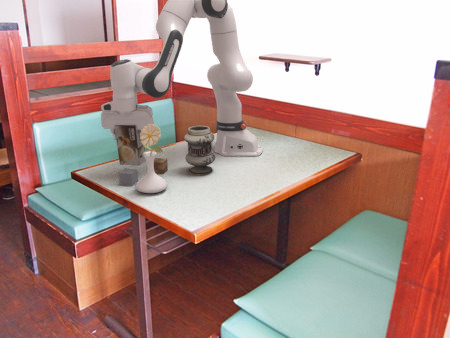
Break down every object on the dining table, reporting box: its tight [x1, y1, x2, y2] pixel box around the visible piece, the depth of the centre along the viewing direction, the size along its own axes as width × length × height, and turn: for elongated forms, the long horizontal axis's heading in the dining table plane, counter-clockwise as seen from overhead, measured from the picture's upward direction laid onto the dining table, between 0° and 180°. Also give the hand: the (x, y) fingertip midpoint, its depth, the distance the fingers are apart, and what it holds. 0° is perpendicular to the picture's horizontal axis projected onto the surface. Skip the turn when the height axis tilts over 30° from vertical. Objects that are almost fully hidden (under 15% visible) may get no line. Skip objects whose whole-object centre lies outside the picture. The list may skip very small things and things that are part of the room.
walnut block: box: [154, 157, 169, 175], centre depth 167 cm, size 5×5×5 cm
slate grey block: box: [118, 167, 139, 187], centre depth 156 cm, size 5×5×5 cm
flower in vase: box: [135, 123, 169, 194], centre depth 146 cm, size 13×11×25 cm
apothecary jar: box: [183, 125, 216, 176], centre depth 165 cm, size 12×12×18 cm
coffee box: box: [114, 125, 147, 167], centre depth 162 cm, size 9×6×16 cm
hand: (129, 140), depth 161 cm, fingers closed on coffee box, 8 cm apart
